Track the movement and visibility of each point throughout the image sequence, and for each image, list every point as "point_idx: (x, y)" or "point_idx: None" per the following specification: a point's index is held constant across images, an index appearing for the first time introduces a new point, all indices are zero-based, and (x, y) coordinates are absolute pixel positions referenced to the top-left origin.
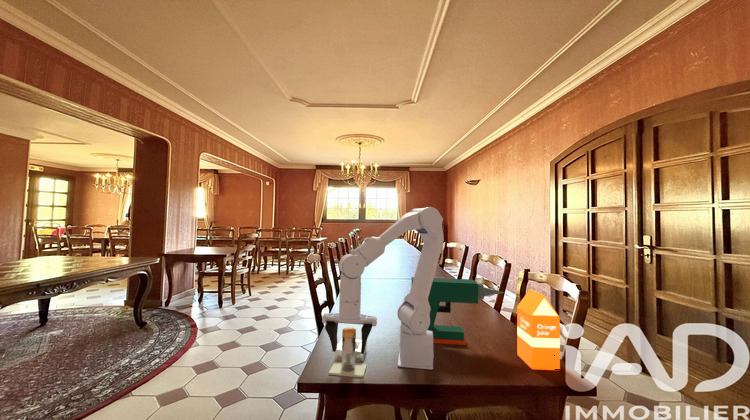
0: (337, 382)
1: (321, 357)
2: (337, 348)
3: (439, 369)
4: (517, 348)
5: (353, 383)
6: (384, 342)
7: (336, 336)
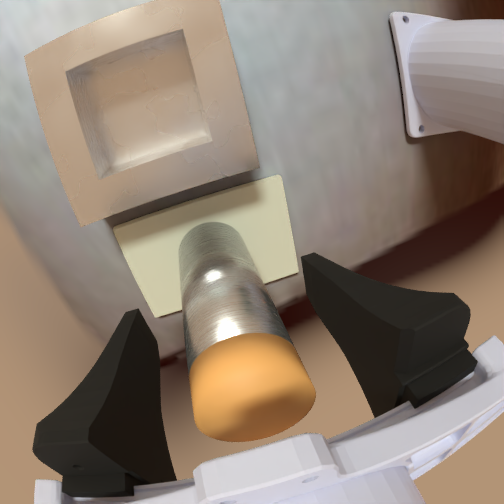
0: None
1: (26, 211)
2: (85, 205)
3: None
4: None
5: None
6: None
7: (129, 368)
